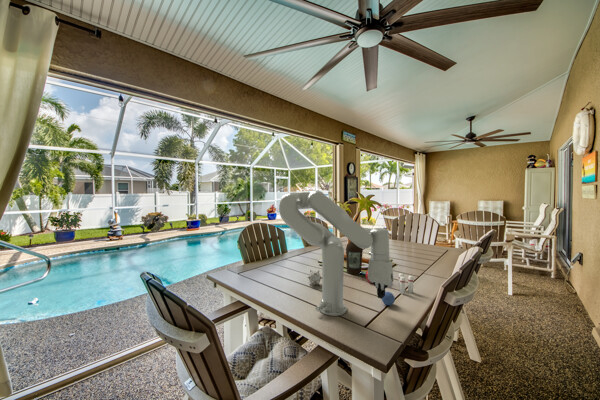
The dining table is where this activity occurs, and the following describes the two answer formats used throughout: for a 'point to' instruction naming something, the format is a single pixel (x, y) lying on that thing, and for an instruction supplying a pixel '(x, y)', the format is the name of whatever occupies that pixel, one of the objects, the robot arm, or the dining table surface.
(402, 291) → the front pin
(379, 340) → the dining table surface
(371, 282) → the pomegranate
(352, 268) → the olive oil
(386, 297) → the ball
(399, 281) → the pin
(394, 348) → the dining table surface
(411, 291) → the pin
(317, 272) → the game die
